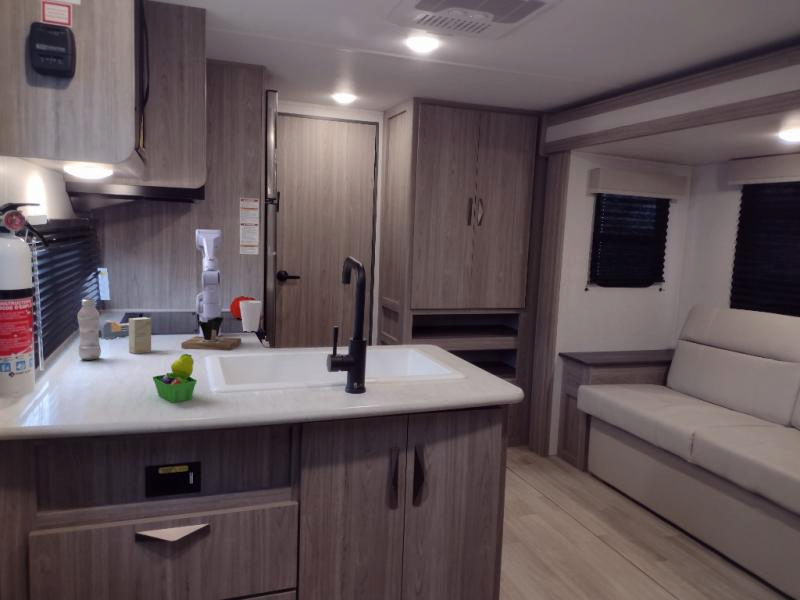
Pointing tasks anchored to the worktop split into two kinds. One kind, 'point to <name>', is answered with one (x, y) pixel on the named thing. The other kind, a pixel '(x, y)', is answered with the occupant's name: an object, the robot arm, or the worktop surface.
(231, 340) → the socket board
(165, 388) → the fruit basket
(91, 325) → the plastic bottle
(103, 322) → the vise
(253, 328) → the foam cup
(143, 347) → the skincare box
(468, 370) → the worktop surface
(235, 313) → the tomato
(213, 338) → the peg
